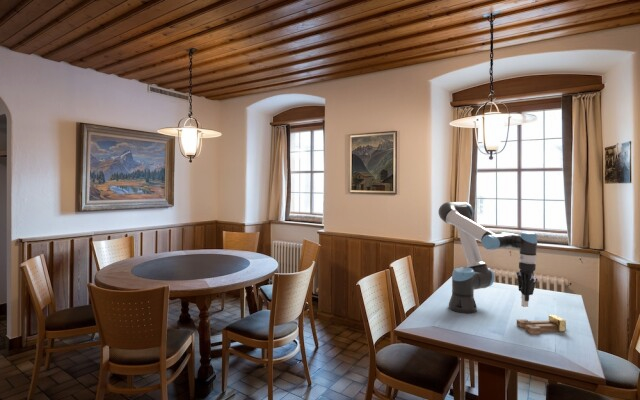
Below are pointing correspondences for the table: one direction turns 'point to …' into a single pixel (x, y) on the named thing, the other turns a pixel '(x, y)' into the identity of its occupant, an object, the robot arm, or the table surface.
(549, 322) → the tongs moving arm
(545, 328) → the tongs fixed arm
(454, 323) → the table surface
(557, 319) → the lock collar
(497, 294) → the table surface
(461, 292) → the robot arm
